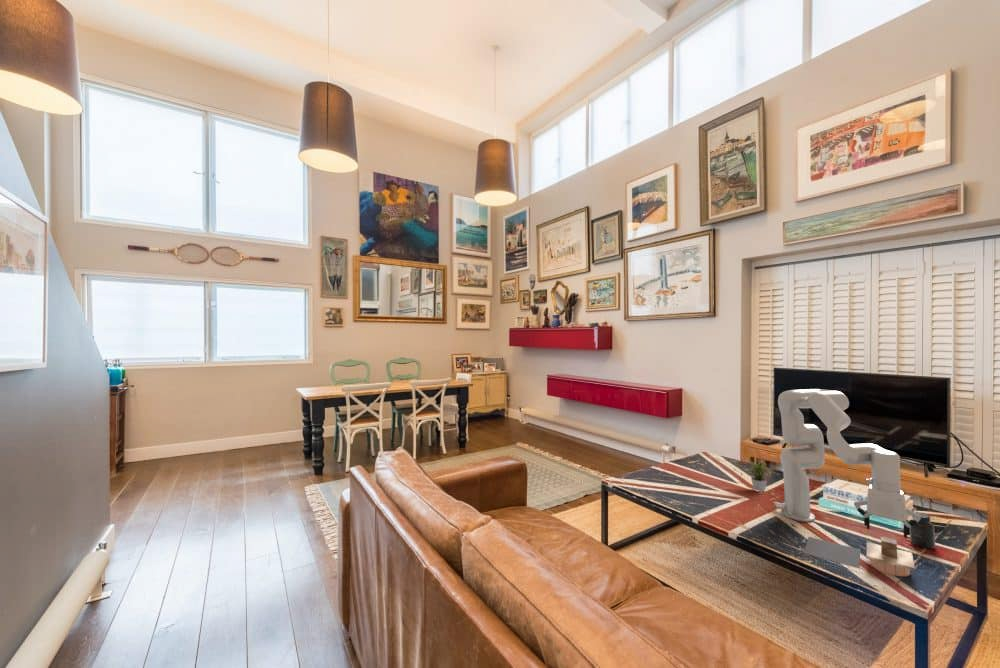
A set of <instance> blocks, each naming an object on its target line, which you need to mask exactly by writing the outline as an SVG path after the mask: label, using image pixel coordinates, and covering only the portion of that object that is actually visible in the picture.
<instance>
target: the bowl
mask: <svg viewBox="0 0 1000 668" xmlns="http://www.w3.org/2000/svg"><path fill="white" fill-rule="evenodd" d="M870 565H871V566H872V567H874V568H875V569H877V570H878V571H880V572H882V573H884V574H888V575H891V576H895V577H909V576H910V575H911V569H907V568H903V567H900V566H896V565H892V564H888V563H884V562H880V561H876V560H873V559H870Z"/></svg>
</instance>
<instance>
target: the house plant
mask: <svg viewBox="0 0 1000 668" xmlns="http://www.w3.org/2000/svg"><path fill="white" fill-rule="evenodd" d="M747 461H749V462H750V464H751V465H750V464H748V463H745V462H744V464H745V465H746V464H747V466H750V467H749V469H748V468H744V470H745V471H747V472H746V474H745V475H748V476H750V475H753V476H751V478H750V479H751V482H752V483H751V484H752V487H753V488H752V489H753V490H754V489H756V490H759V491H764V490H765V491H766V488H767V487H766V486H767V479H766V477H765V476H764V475H765V472H766V471H767V470H768V469H769V467H767V465H768V463H766V462H764V459H762V460H760V461H759V462H758V465H756V463H754V462H753V461H751V460H750V459H748V458H747ZM767 474H769V472H767V473H766V475H767ZM772 474H773V473H771V472H770V475H772Z"/></svg>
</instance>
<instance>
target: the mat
mask: <svg viewBox="0 0 1000 668" xmlns="http://www.w3.org/2000/svg"><path fill="white" fill-rule="evenodd" d="M803 553H804V554H806V555H809V556H813V557H817V558H819V559H823V560H827V561H830V562H835V563H838V564H842V565H846V566H849V567H852V568H853V567H854V568H856V569H860V568H861V549H860V548H855V547H852V546H848V545H844V544H840V543H835V542H831V541H828V540H824V539H823V540H822V539H820V538H816V537H812V536H808V538H807V541H806V545H805V549H804V552H803Z"/></svg>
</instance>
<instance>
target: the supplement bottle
mask: <svg viewBox="0 0 1000 668" xmlns="http://www.w3.org/2000/svg"><path fill="white" fill-rule="evenodd" d="M914 512H915V513H916V514H918V515H920V516H921V519H920V520H919V521H918V522H917V524H915V525H913V526H911V527H910V536H909V541H910V543H911V544H912V545H914V546H916V547H919V548H922V549H926V550H933V549H935V548H936V539H935V537H936V535H935V525H934V524H933V523H932V522H931V516H930V515H928V514H926V513H922V512H917V511H914ZM911 517H912V519H913V518H914V517H913V516H911Z"/></svg>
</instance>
